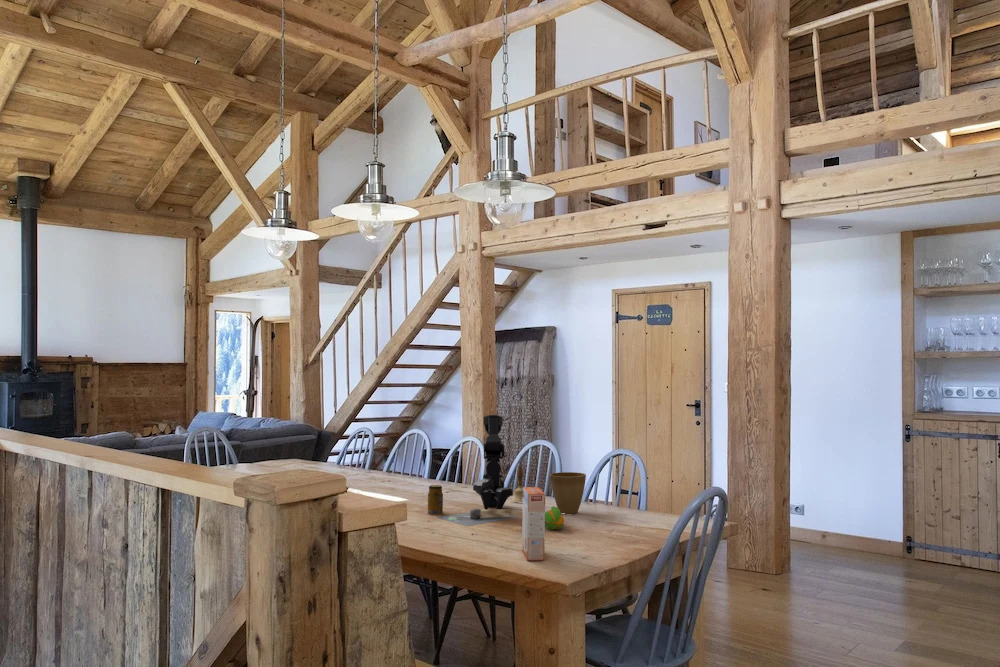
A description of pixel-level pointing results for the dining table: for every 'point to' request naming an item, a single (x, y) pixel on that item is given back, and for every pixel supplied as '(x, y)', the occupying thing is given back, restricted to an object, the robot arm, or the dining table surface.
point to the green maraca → (554, 519)
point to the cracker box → (533, 524)
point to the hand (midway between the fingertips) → (492, 511)
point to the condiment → (435, 500)
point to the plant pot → (568, 490)
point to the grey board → (473, 521)
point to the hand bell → (519, 487)
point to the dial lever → (488, 513)
